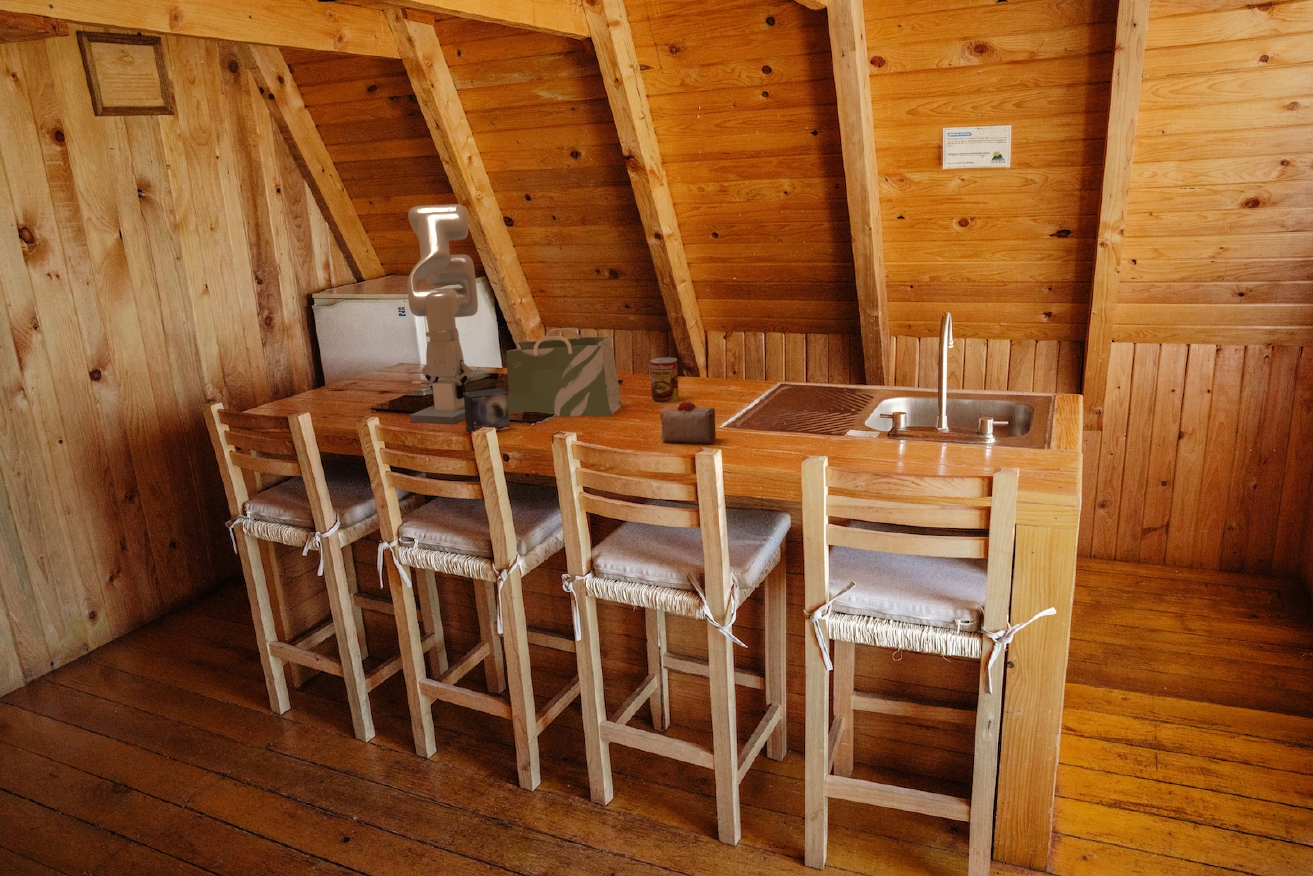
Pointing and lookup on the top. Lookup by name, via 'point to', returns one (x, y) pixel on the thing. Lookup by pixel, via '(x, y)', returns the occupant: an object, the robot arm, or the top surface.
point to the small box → (486, 409)
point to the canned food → (664, 380)
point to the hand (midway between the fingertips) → (449, 397)
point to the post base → (438, 416)
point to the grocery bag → (563, 376)
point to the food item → (688, 424)
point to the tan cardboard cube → (446, 395)
